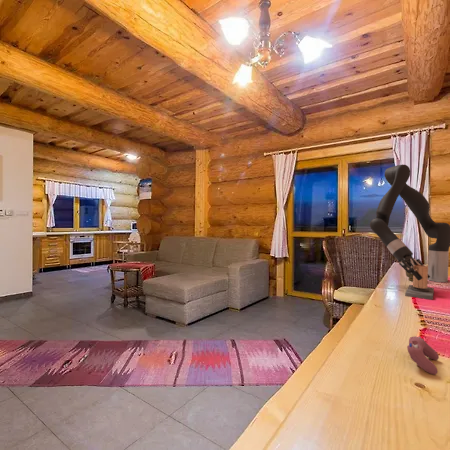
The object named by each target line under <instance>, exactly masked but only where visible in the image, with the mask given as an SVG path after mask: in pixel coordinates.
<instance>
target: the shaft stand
mask: <svg viewBox="0 0 450 450" xmlns="http://www.w3.org/2000/svg"><path fill="white" fill-rule="evenodd" d="M434 292H435V288H434V287H432V286H431V287H430V286H427V288H417V287H413V284H409V285H408V287H407V288H406V291H405V293H404V294H405V295H404V296H405V297H411V298H417V297H418V298H417V299H423V298H424V299H425V300H431V301H433V299H434Z"/></svg>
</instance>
